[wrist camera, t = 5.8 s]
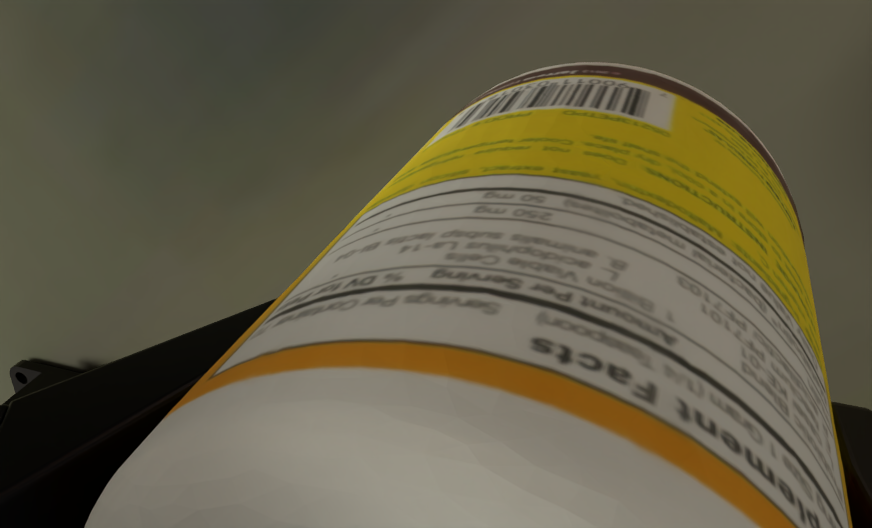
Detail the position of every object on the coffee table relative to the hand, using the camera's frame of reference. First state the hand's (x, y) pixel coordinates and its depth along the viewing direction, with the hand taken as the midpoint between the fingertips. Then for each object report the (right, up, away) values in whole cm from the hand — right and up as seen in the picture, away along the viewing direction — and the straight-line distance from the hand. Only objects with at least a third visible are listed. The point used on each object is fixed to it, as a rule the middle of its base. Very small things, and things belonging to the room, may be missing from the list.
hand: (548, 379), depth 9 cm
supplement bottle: (+1, +2, +3) cm, 4 cm away
